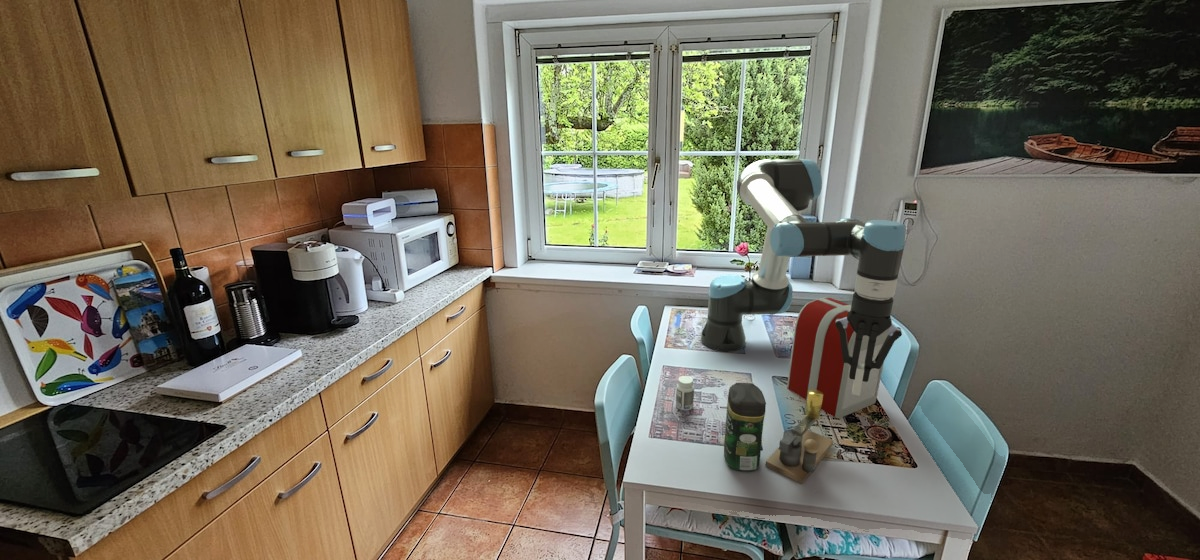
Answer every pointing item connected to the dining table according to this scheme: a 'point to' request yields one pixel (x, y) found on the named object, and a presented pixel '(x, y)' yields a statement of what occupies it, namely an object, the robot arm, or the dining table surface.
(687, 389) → the pill bottle
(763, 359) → the dining table surface
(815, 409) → the lever
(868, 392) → the red white arched box
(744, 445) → the coffee jar
